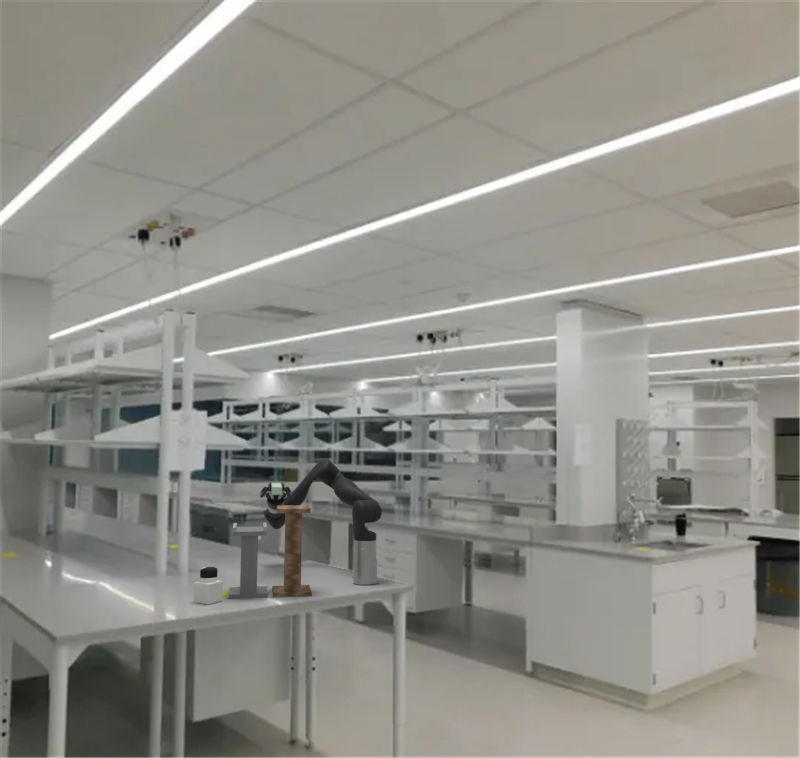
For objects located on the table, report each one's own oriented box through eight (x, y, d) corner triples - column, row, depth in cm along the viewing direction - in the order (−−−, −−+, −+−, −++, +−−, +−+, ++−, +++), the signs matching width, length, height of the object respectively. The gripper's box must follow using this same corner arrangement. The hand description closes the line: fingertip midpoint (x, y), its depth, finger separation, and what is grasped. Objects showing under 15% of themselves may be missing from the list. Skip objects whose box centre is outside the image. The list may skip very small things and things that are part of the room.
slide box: (280, 490, 317) (280, 483, 318) (281, 494, 292) (282, 487, 292) (271, 490, 317) (271, 483, 317) (271, 494, 291) (271, 487, 291)
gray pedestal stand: (267, 589, 284) (268, 522, 287) (267, 598, 269) (269, 527, 271) (229, 590, 282) (231, 523, 284) (228, 599, 266) (230, 527, 268)
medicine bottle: (222, 601, 263) (223, 566, 264) (207, 604, 257) (208, 569, 258) (207, 598, 267) (208, 565, 268) (193, 602, 260) (194, 567, 262)
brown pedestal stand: (308, 588, 287) (310, 505, 290) (311, 596, 272) (313, 508, 275) (272, 589, 285) (274, 505, 288) (273, 597, 269) (275, 509, 272)
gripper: (259, 494, 324) (259, 476, 310) (292, 494, 326) (293, 476, 312) (258, 510, 320) (258, 492, 306) (292, 509, 322) (293, 492, 308)
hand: (276, 484), depth 309 cm, fingers closed on slide box, 4 cm apart
